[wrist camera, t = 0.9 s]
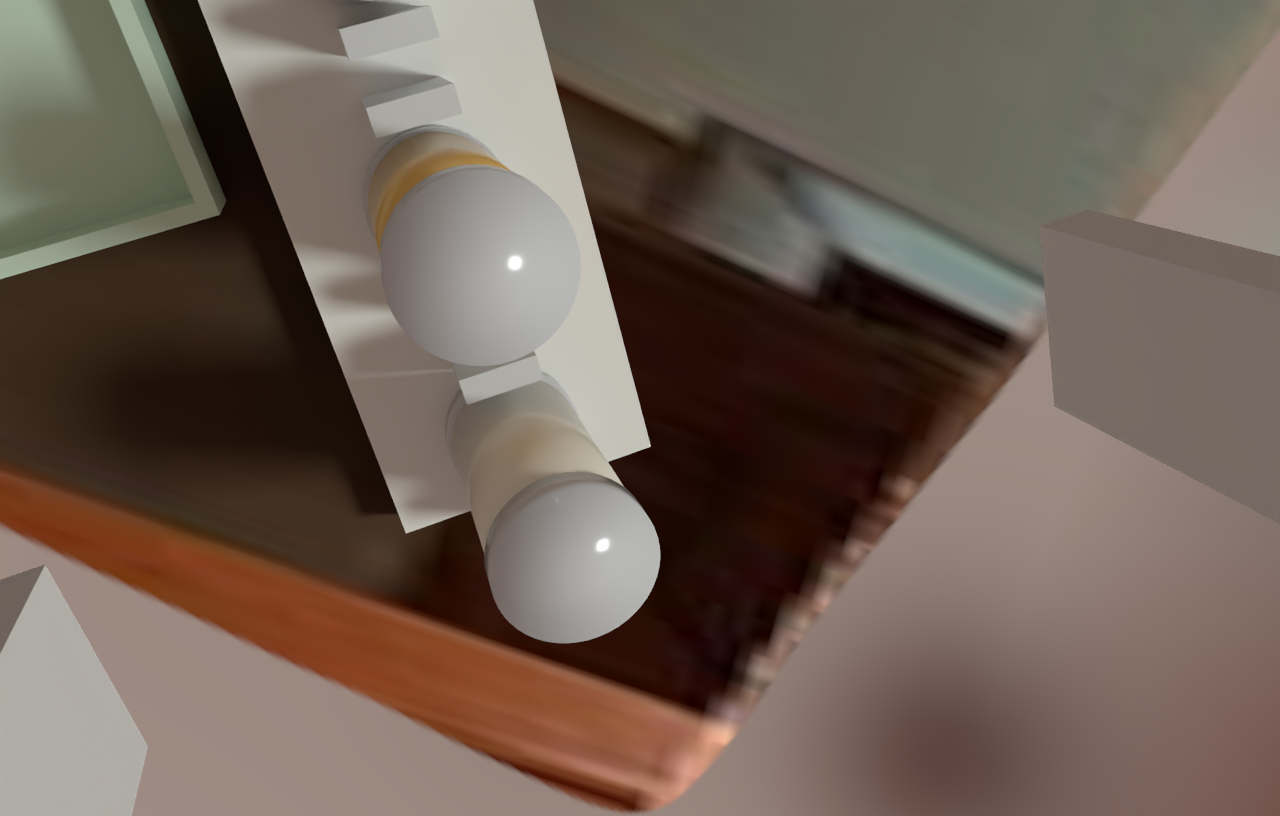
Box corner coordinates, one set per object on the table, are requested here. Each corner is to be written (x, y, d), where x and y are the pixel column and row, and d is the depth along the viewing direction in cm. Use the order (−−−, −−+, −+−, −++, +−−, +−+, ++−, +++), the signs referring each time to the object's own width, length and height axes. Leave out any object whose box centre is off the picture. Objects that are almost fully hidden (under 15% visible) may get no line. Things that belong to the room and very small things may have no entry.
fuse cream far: (427, 389, 34) (467, 524, 25) (554, 346, 35) (637, 463, 26) (468, 503, 36) (518, 667, 27) (587, 460, 36) (676, 606, 27)
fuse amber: (341, 148, 31) (351, 204, 22) (484, 107, 31) (551, 145, 22) (390, 286, 32) (419, 391, 23) (524, 245, 33) (601, 330, 24)
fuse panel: (136, -171, 28) (102, -207, 23) (458, -245, 29) (483, -291, 25) (407, 526, 37) (420, 596, 33) (642, 443, 39) (685, 499, 34)
